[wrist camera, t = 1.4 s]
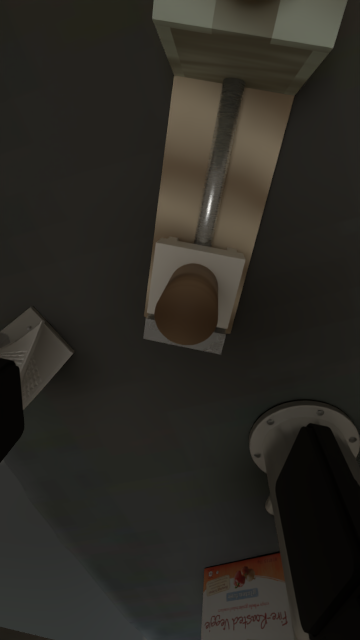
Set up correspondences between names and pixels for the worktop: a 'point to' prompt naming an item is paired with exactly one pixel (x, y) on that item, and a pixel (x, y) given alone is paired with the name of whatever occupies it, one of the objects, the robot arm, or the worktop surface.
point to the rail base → (239, 170)
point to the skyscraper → (33, 351)
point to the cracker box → (246, 601)
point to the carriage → (193, 289)
